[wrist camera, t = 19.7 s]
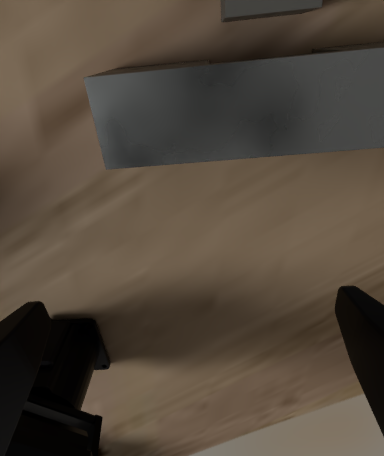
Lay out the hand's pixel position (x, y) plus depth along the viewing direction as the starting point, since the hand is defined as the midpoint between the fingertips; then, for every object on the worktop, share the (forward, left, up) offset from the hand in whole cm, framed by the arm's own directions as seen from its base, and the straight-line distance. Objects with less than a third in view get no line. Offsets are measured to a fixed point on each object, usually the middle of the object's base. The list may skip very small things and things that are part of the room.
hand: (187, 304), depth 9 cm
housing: (+4, -4, -12) cm, 13 cm away
